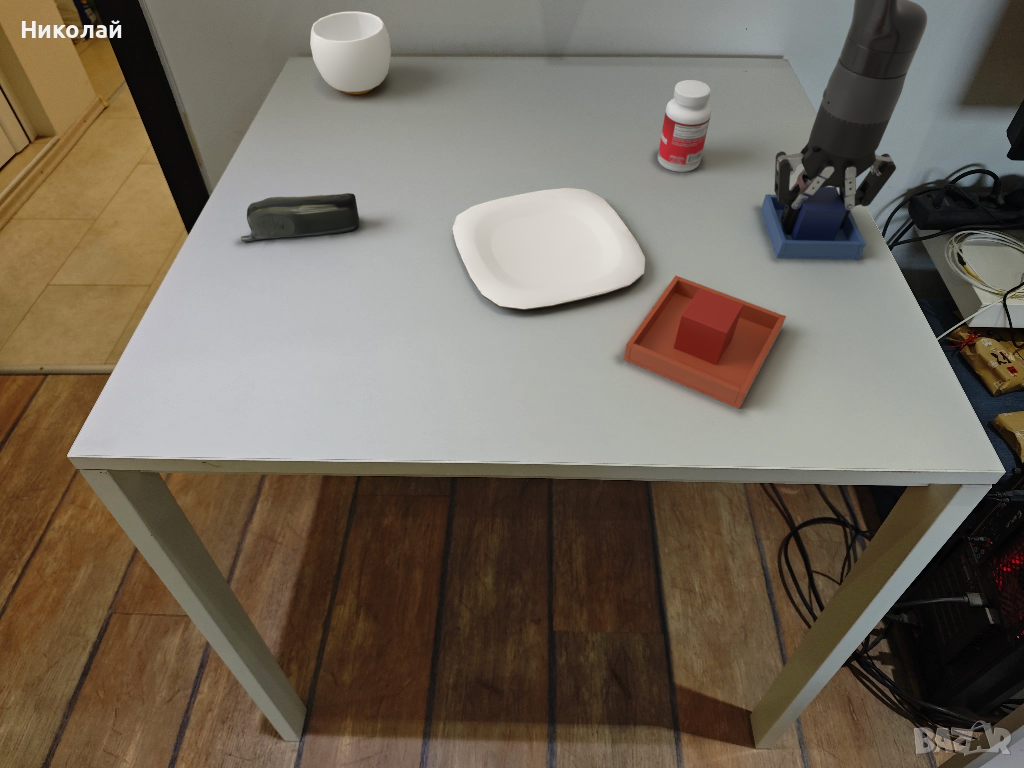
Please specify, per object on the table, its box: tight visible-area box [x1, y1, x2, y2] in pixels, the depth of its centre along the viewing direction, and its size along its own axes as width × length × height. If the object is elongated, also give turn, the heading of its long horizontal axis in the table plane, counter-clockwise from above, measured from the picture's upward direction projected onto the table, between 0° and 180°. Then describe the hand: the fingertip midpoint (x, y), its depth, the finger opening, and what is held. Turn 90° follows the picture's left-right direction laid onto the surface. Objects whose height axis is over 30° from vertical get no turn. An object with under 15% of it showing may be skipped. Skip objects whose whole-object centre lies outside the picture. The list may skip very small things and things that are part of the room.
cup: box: [309, 11, 392, 95], centre depth 115 cm, size 12×12×10 cm
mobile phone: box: [240, 192, 360, 242], centre depth 92 cm, size 5×3×15 cm
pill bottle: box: [657, 79, 712, 173], centre depth 100 cm, size 6×6×11 cm
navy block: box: [790, 186, 847, 241], centre depth 91 cm, size 5×5×5 cm
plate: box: [452, 187, 646, 311], centre depth 90 cm, size 22×22×2 cm
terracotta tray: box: [623, 274, 787, 409], centre depth 79 cm, size 13×13×2 cm
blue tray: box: [760, 193, 867, 261], centre depth 92 cm, size 10×10×2 cm
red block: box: [674, 288, 743, 365], centre depth 78 cm, size 5×5×5 cm
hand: (809, 228), depth 93 cm, fingers closed on navy block, 5 cm apart
